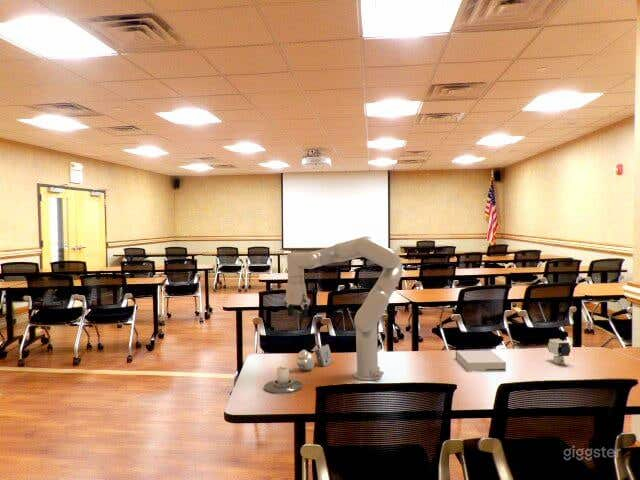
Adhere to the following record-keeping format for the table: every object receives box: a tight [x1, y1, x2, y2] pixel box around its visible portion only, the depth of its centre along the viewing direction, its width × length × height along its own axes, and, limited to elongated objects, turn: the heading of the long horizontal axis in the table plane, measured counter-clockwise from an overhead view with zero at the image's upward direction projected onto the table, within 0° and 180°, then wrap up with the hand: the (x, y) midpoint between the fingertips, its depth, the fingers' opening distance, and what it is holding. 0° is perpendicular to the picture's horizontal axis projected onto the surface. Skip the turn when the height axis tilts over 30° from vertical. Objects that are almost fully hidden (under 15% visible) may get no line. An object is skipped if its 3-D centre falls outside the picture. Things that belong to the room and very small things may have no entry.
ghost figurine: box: [296, 349, 316, 371], centre depth 227 cm, size 9×10×10 cm
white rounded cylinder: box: [276, 366, 290, 384], centre depth 203 cm, size 5×5×8 cm
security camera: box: [547, 337, 571, 365], centre depth 228 cm, size 6×12×12 cm, turn 6°
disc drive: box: [455, 349, 507, 373], centre depth 230 cm, size 18×22×5 cm
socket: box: [263, 378, 303, 394], centre depth 203 cm, size 16×16×2 cm
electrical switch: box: [314, 344, 334, 368], centre depth 237 cm, size 9×5×9 cm, turn 152°
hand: (297, 316), depth 220 cm, fingers open, 9 cm apart
